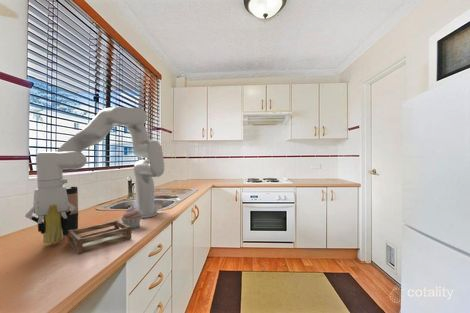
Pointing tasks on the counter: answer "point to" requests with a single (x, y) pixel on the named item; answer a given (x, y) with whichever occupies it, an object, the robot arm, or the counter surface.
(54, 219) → the vase
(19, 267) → the counter surface
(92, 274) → the counter surface
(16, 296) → the counter surface
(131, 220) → the cupcake
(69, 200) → the travel mug
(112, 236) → the tray
